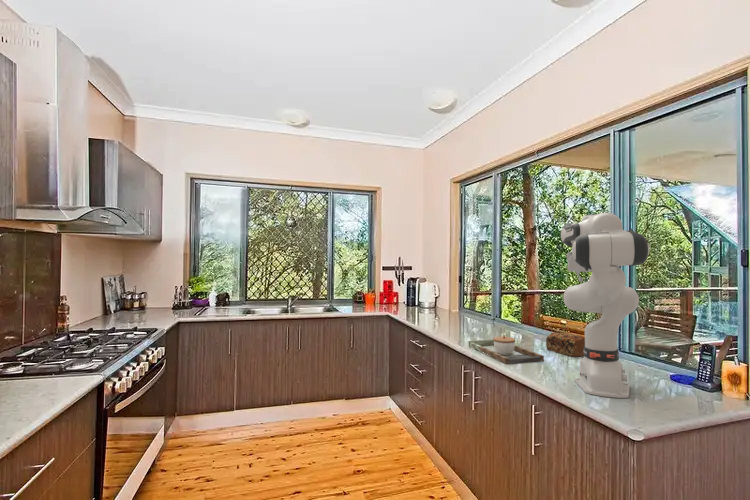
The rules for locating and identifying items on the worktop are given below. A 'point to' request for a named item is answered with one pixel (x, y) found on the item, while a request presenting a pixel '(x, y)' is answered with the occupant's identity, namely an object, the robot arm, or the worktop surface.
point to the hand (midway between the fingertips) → (592, 281)
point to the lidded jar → (504, 345)
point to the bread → (566, 344)
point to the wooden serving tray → (525, 358)
